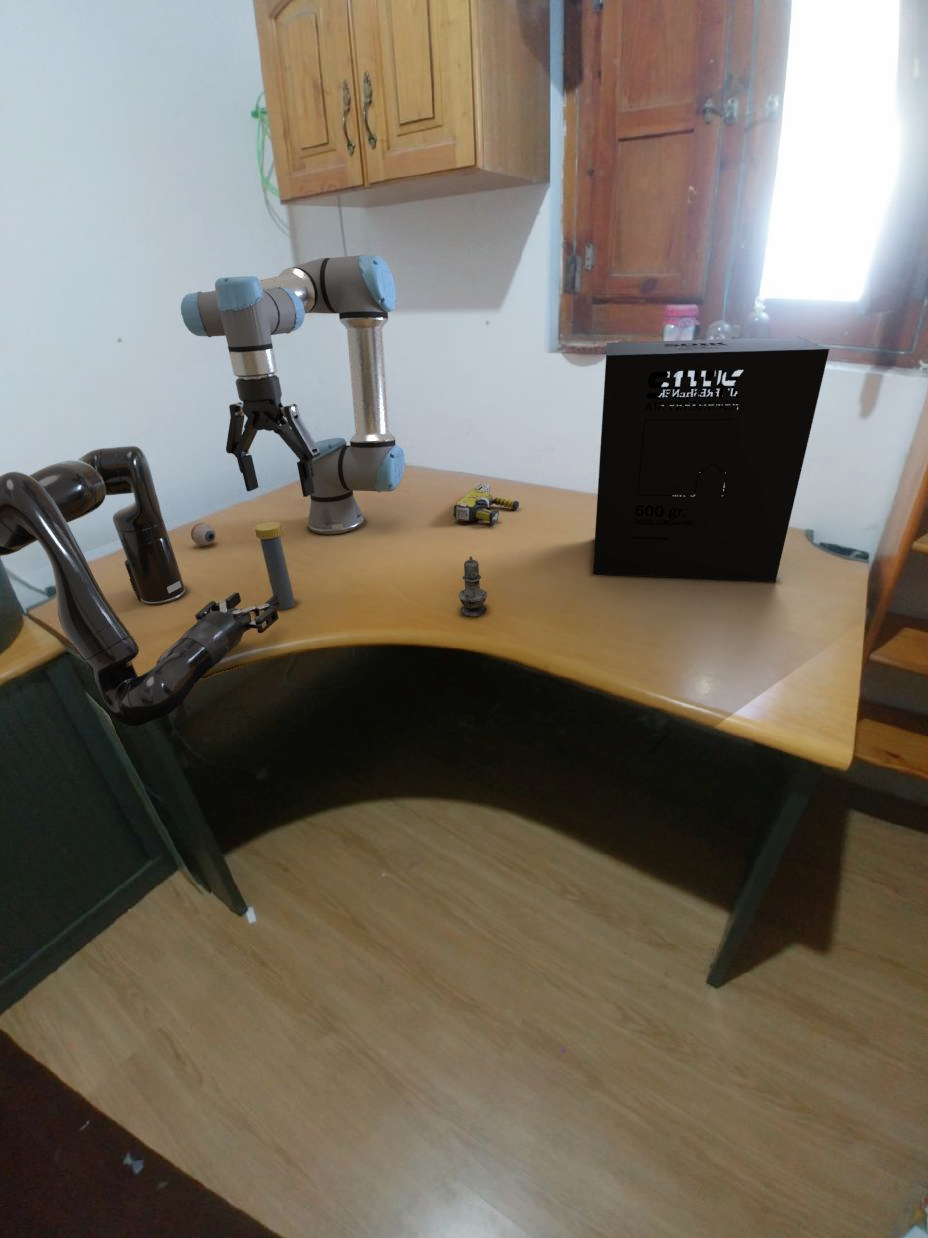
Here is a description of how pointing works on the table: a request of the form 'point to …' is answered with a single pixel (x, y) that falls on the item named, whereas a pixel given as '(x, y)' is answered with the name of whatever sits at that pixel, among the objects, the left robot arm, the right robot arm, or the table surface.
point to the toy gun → (480, 505)
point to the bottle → (278, 571)
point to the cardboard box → (703, 455)
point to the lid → (268, 530)
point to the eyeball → (203, 534)
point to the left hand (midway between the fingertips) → (257, 598)
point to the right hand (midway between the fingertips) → (280, 492)
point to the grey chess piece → (472, 590)
